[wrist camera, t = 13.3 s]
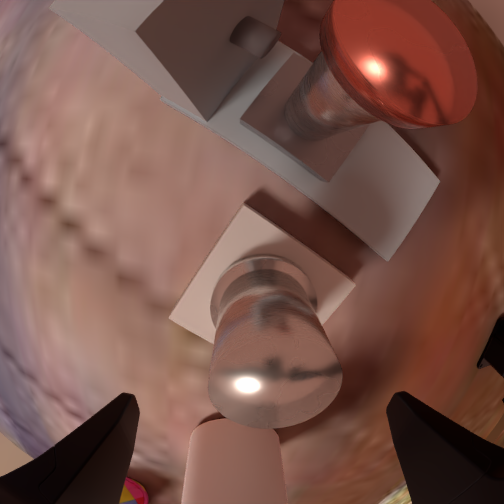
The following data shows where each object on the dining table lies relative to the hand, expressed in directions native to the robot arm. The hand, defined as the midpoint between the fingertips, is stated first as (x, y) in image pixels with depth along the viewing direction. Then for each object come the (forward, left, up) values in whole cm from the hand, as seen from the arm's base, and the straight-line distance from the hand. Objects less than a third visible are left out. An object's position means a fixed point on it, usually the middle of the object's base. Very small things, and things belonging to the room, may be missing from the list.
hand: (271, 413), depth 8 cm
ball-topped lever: (-2, -10, -8) cm, 13 cm away
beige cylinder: (+1, +16, -10) cm, 18 cm away
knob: (0, 0, -8) cm, 8 cm away
